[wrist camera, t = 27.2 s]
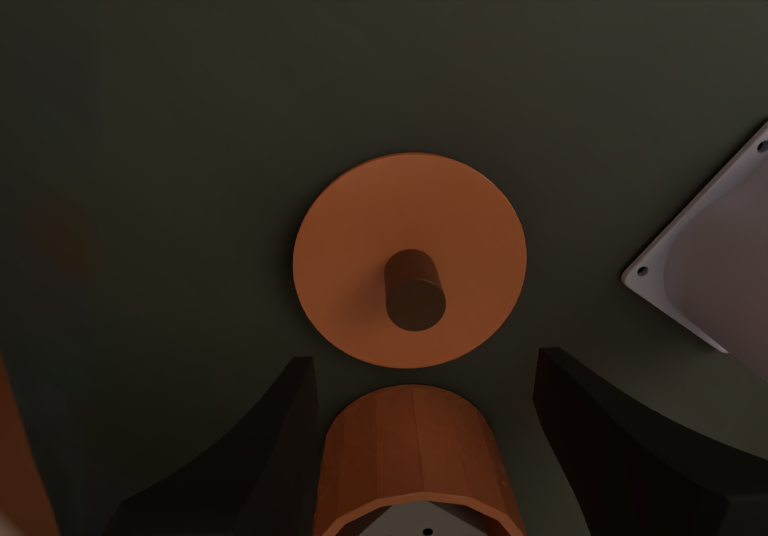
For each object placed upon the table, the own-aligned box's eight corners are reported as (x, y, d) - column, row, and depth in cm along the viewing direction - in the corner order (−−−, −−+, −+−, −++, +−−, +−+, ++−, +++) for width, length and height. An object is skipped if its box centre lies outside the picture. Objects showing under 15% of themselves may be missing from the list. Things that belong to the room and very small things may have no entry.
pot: (385, 354, 24) (389, 459, 18) (527, 432, 26) (577, 548, 20) (293, 471, 27) (268, 595, 21) (427, 530, 30) (442, 658, 23)
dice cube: (348, 466, 27) (343, 549, 22) (402, 413, 25) (409, 490, 21) (413, 502, 28) (421, 587, 23) (468, 454, 26) (488, 535, 22)
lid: (376, 98, 19) (377, 106, 15) (566, 233, 21) (610, 270, 18) (256, 292, 22) (231, 340, 18) (432, 387, 25) (443, 447, 21)
